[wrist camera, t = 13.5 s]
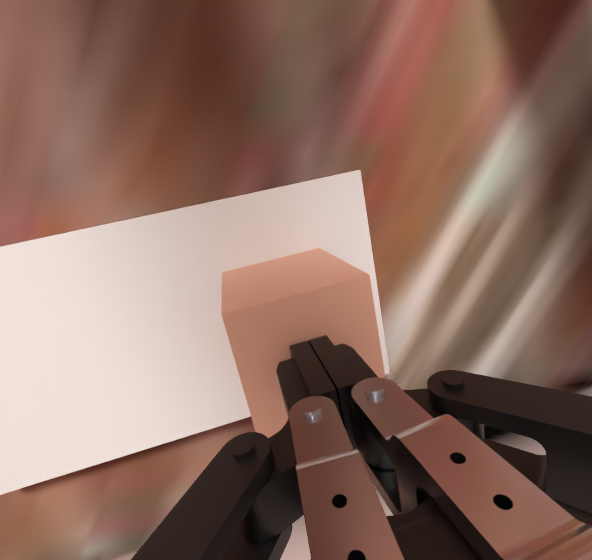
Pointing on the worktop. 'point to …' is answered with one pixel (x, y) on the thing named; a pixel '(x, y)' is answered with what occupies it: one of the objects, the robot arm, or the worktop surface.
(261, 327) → the salmon pink cube
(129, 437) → the white board
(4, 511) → the worktop surface
